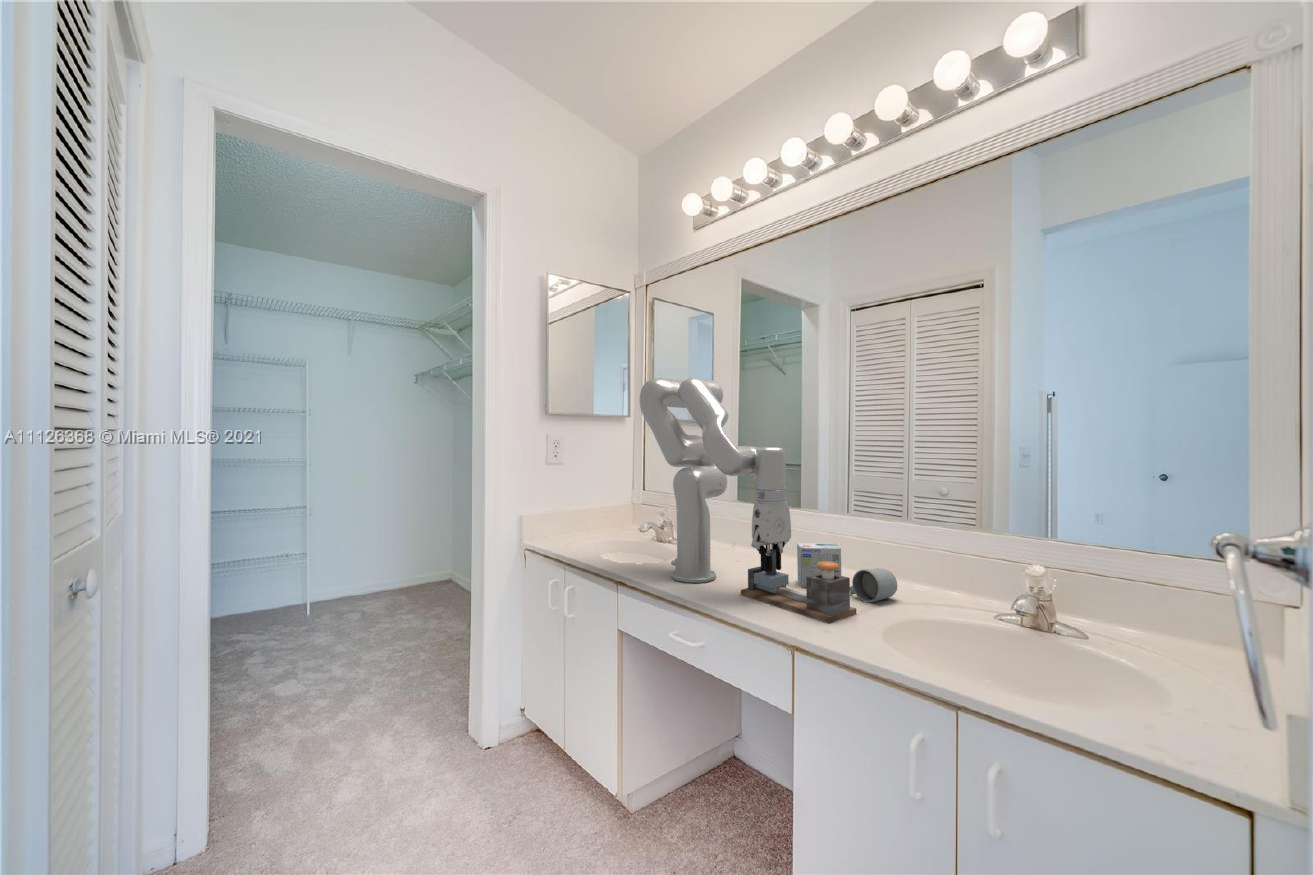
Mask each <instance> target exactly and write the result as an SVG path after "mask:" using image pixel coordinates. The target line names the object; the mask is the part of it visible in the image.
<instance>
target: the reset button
mask: <svg viewBox="0 0 1313 875" xmlns="http://www.w3.org/2000/svg"><path fill="white" fill-rule="evenodd" d="M817 565H818V569H821V570H822V579H826V580H834V570H838V564H837V563H835V562H828V561H822V562H818V563H817Z"/></svg>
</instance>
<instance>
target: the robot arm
mask: <svg viewBox="0 0 1313 875" xmlns="http://www.w3.org/2000/svg"><path fill="white" fill-rule="evenodd" d="M639 393H640V394H639V408H640V411H641V414H642V416H643V418H644V420H645V422H646V423H647V425H648V427H649V428H650V430H651V431H652V434H653V436H654V438H655V440H656V442H657V444H658V447H659V449H660V451H661V453H662V455H663V457H664V459H665V461H666V462H667V464H668V465H669V466H671V467H676V468H681V469H680V470H678V471H677V472H676V473H675V475H674V477H673V481H672V488H673V494H674V498H675V499H674V500H675V504H676V505H675V506H676V558H674V559H673V560H671V562H670V564H671V565H672V566H675V567H674V568H675V569H674V570H673V571H672V572H671V578H672V579H673V580H675V581H678V582H680V583H681V582H683V583H691V584H696V583H697V584H698V583H701V584H702V583H708V582H713V581H714V580H716V578H717V573H716V572H715V571H713V570H712V569H711V568H712V567H711V515H710V514H711V513H710V509H709V506H708V504H707V501H706V499H710V498H711V499H713V498H716V497H720V496H722V495H723V494H724V493H725V492H726V490H727V488H728V478H727V476H730V477H737V476H749V475H750V476H751V475H754V488H755V489H754V499H755V500H754V504H753V509H752V518H751V537H752V540H751V544H750V546H751V547H752V548H755V549H756V550H757V551H758V555H760V566H761V570H763V571H767V572H772V556H770V549H775V550H776V571H780V570H782V554H783V552H784V547H785V546H786V545H787V543H788V542H789V541H790V540H791V538H792V525H791V524H792V523H791V513H790V508H789V507H790V506H789V503H788V501H787V490H786V489H787V488H786V487H787V486H786V484H787V482H786V478H787V477H786V475H787V473H786V470H787V468H786V466H787V464H786V462H787V461H786V460H787V458H786V451H785V449H784V448H782V447H779V446H778V447H776V446H775V447H774V446H765V447H763V446H762V447H759V446H758V447H757V446H752V445H751V446H750V445H749V446H748V445H739V446H737V445H736V446H735V445H733V443H732V442H731V441H730V440H729V438H728V437H727V436H726V433H724V431H723V429H722V428H723V427H724V426H725V425H726V423H727V422H728V419H729V413H728V410H727V409H726V408H725V407H724V405H722V402H723V400H724V399H723V398H724V391H723V389H722V387H721V386H720V384H719V383H718V382H717V381H715V380H712V379H707V378H706V379H705V378H701V377H690V378H687V379H685V380H681V379H679V380H678V379H671V378H662V377H659V378H657V377H655V378H652V379H649V380H648V381H646V382H645V383H644V384H643V385H642V387H641V390H640V392H639ZM669 408H679V409H686V410H687V411H688V413H689V414H690V415H691V417H692V418H693V419H694V420H695V422H696V424H697V425H698V426H699V428H700V429H701V431H702V436H701V435H697V434H696V435H695V434H694V435H693V434H687V433H686V432H685V430H684V429H683V427H682V425H681V423H680V421H679V419H678V418H677V417H676V415H674V413H672V412H671V410H669Z"/></svg>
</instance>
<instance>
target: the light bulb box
mask: <svg viewBox="0 0 1313 875" xmlns="http://www.w3.org/2000/svg"><path fill="white" fill-rule="evenodd" d="M796 551H797V553H796V556H797V560H796V561H797V582H798V584H799V586H800V588H806V576H810V575H814V574H818V573H822V570H821V569H818V565H817V563H818V562H822V561H828V562H835V563H837V564H838V570H834V574H836V575H840V576H842V547H840V546H839V545H838V544H836V543H834V542H833V543H832V542H831V543H825V542H824V543H821V542H820V543H817V542H815V543H813V542H811V543H810V542H809V543H807V542H806V543H805V542H804V543H803V542H802V543H801V542H797V543H796Z"/></svg>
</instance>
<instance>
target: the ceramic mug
mask: <svg viewBox="0 0 1313 875" xmlns="http://www.w3.org/2000/svg"><path fill="white" fill-rule="evenodd" d="M851 583H852V585H850V594H855V596H857V598H858V599H859V600H861V601H862V602H865V603H874V602H877V601H882V600H886V599H889V598H891V597H893V596H894V595H895V594H896V592H897V590H898V581H897V579H896V576H895V575H894V574H893V573H892V572H891V571H890V570H888V569H886V568H881V567H879V568H865V569H864V568H863V569H858V570H857V571H856V572H855V574H853V577H852V582H851Z"/></svg>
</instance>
